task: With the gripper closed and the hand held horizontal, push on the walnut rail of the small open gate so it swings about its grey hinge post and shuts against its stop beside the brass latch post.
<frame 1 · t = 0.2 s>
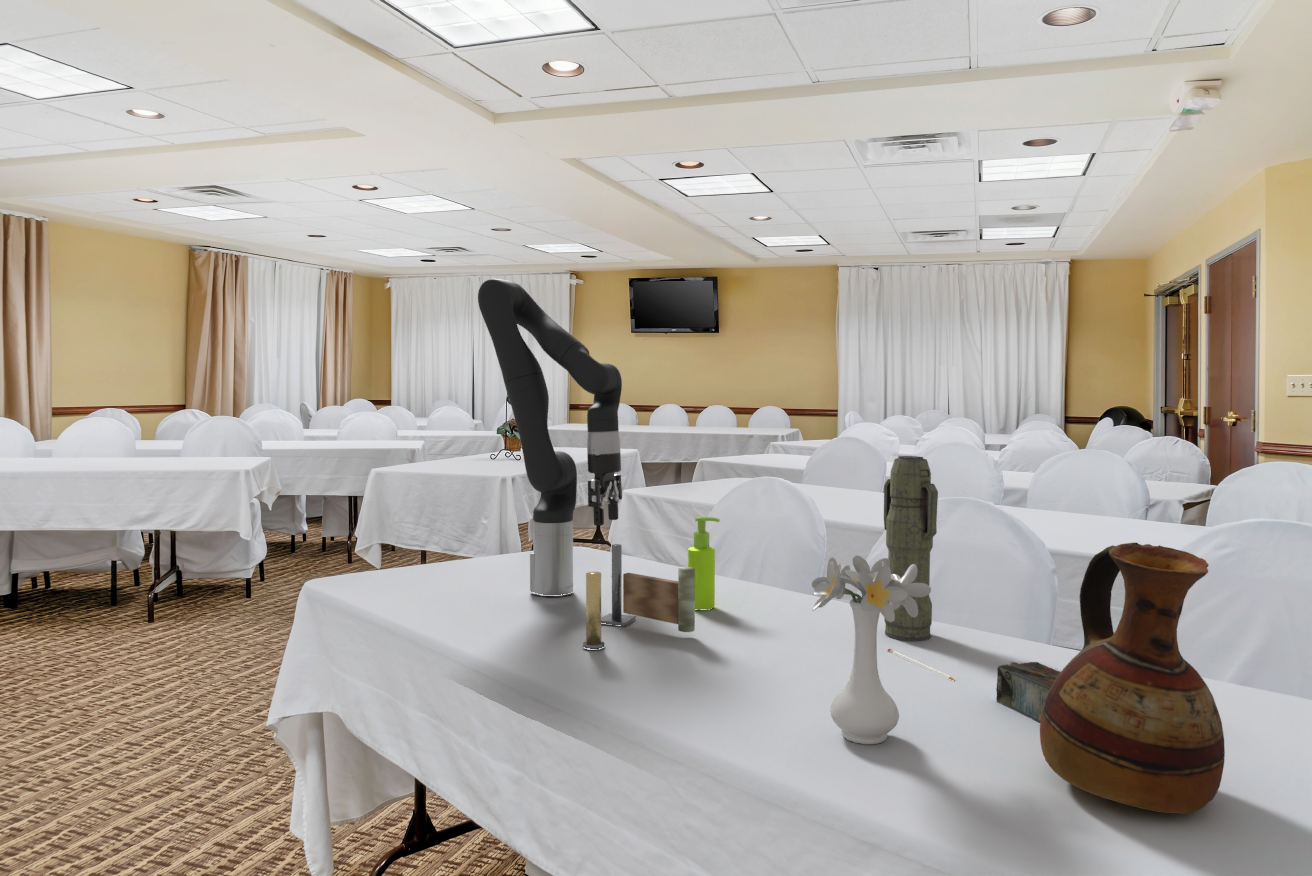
hand: (606, 522, 203), 18 cm above the table, tool pointing down, fingers open, 8 cm apart
flower vase: (864, 735, 125), on the table
thermos: (907, 635, 175), on the table
hinge post: (616, 621, 184), on the table
ceramic pitcher: (1126, 791, 108), on the table
soap dispenser: (703, 608, 196), on the table
gate: (658, 593, 177), point 7 cm above the table, hinge at 50.0°
pencil: (921, 668, 156), on the table
latch post: (593, 647, 166), on the table
beverage carton: (1059, 722, 131), on the table
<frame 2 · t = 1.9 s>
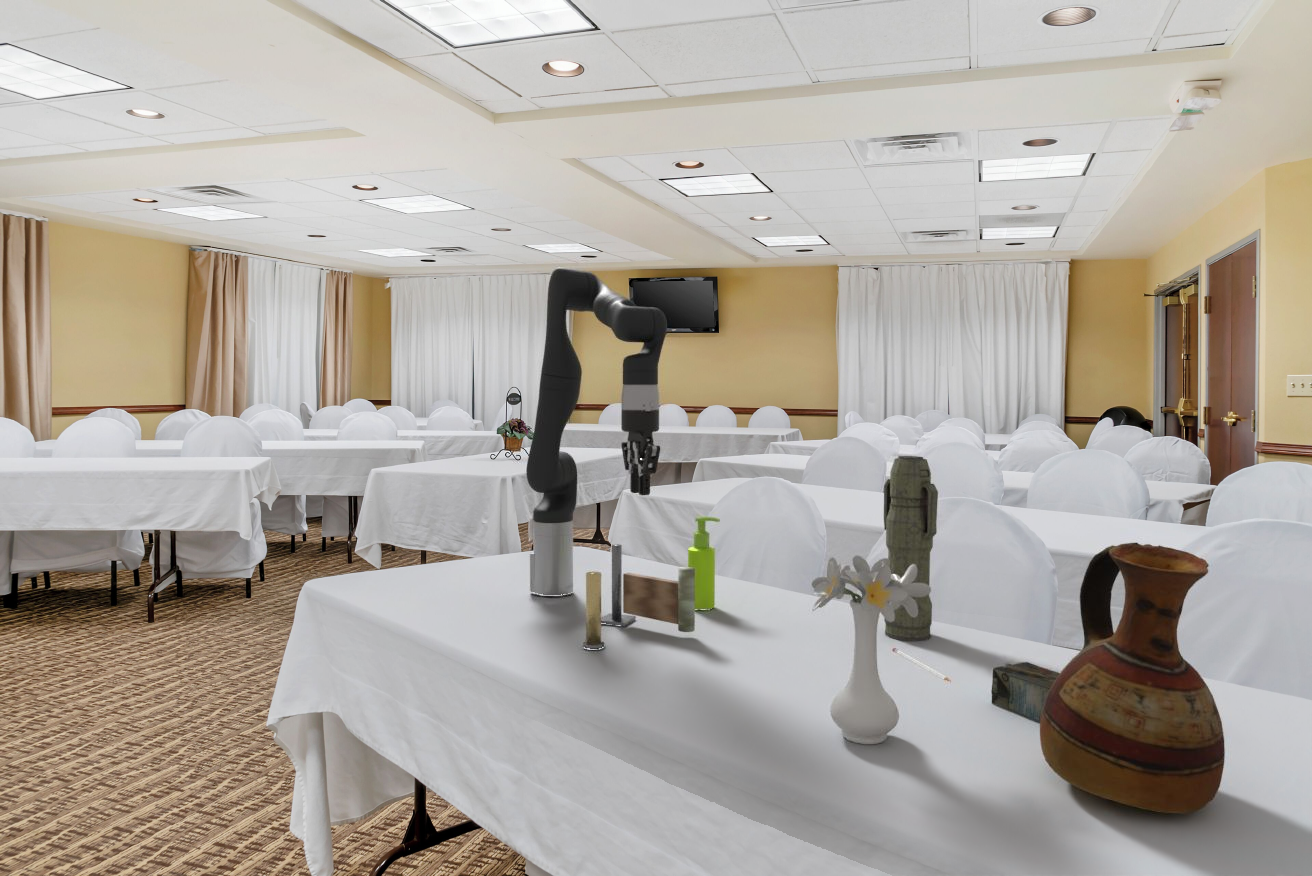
hand: (640, 493, 179), 27 cm above the table, tool pointing down, fingers open, 3 cm apart
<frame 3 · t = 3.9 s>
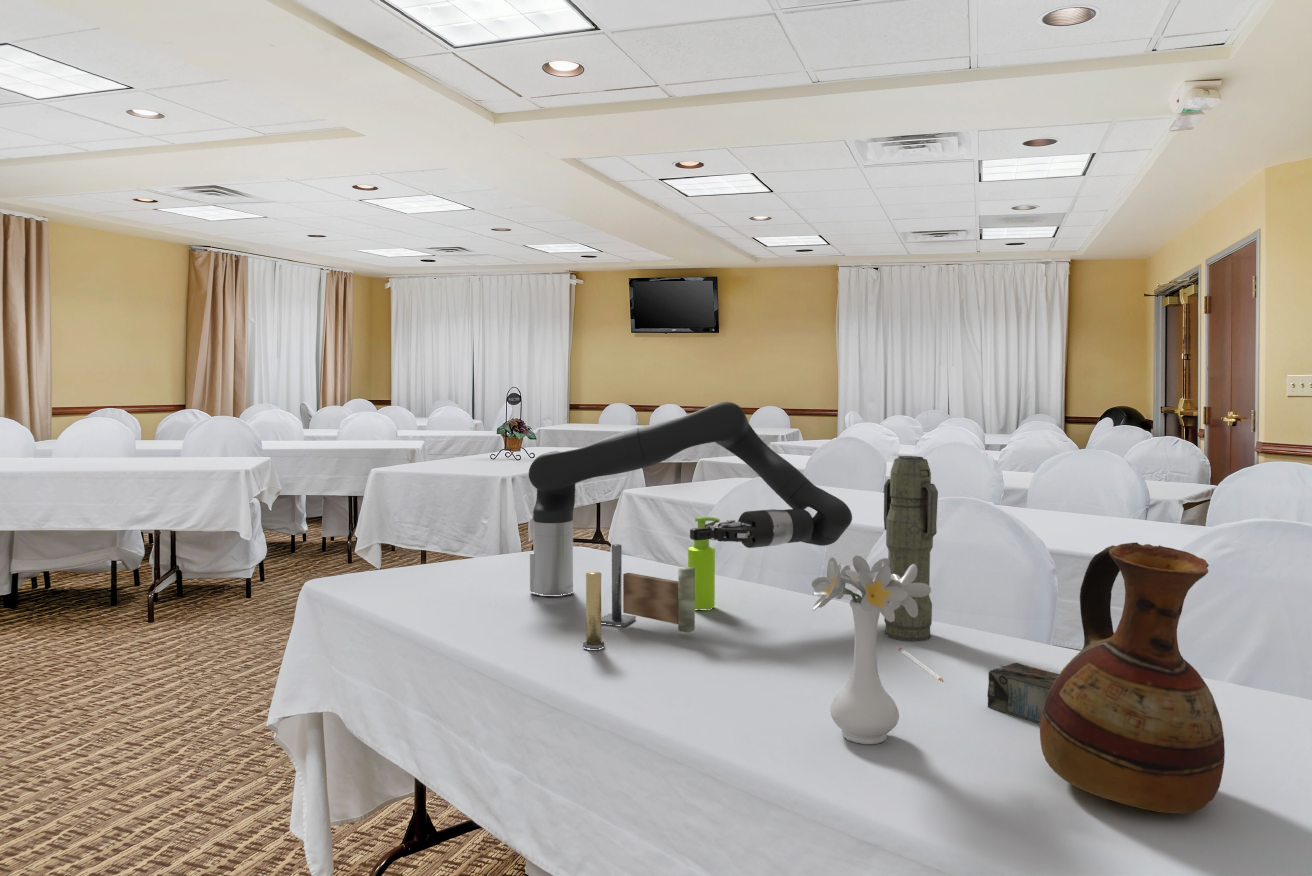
hand: (691, 534, 177), 19 cm above the table, tool horizontal, fingers closed
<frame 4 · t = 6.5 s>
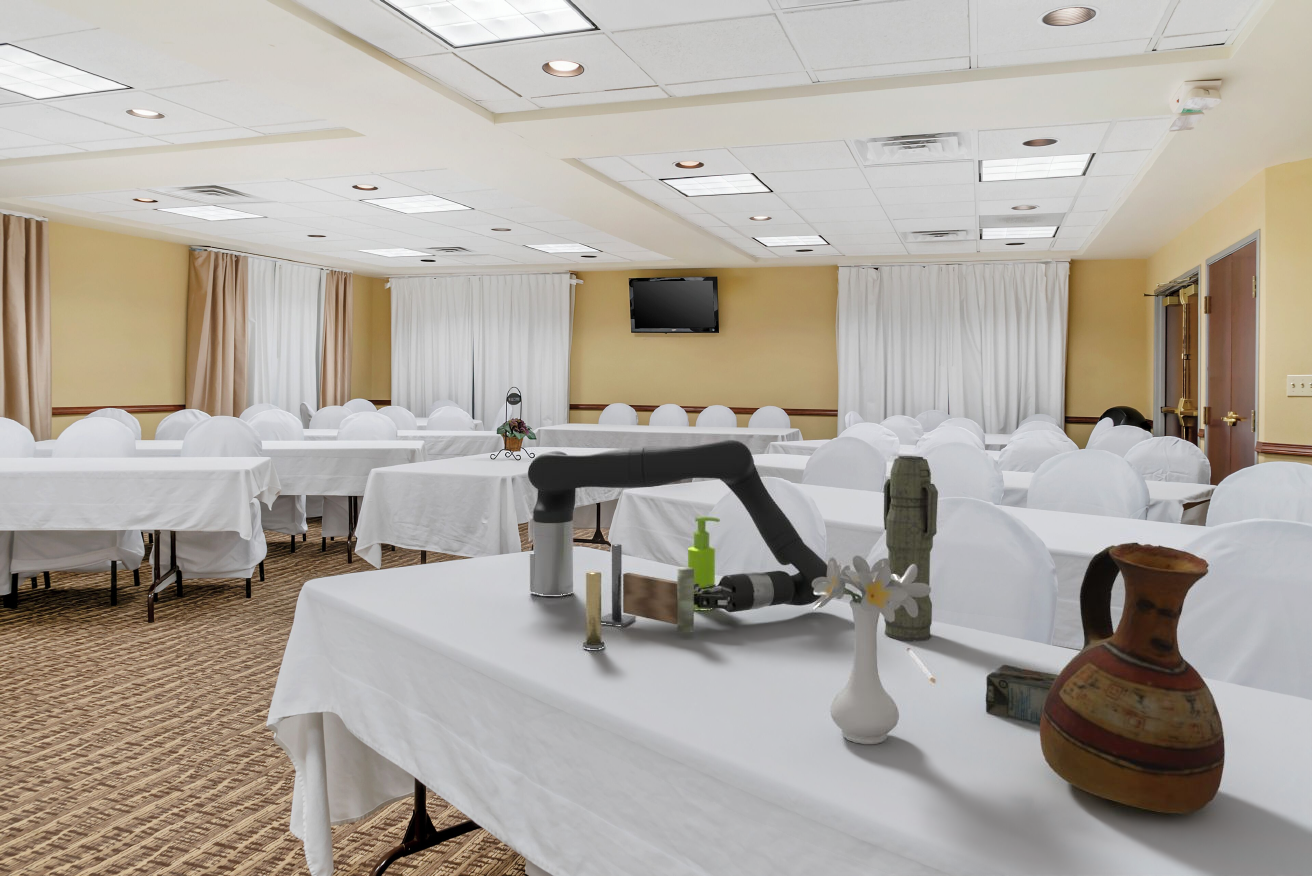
hand: (671, 600, 176), 6 cm above the table, tool horizontal, fingers closed
gate: (657, 594, 177), point 8 cm above the table, hinge at 49.0°, touching gripper
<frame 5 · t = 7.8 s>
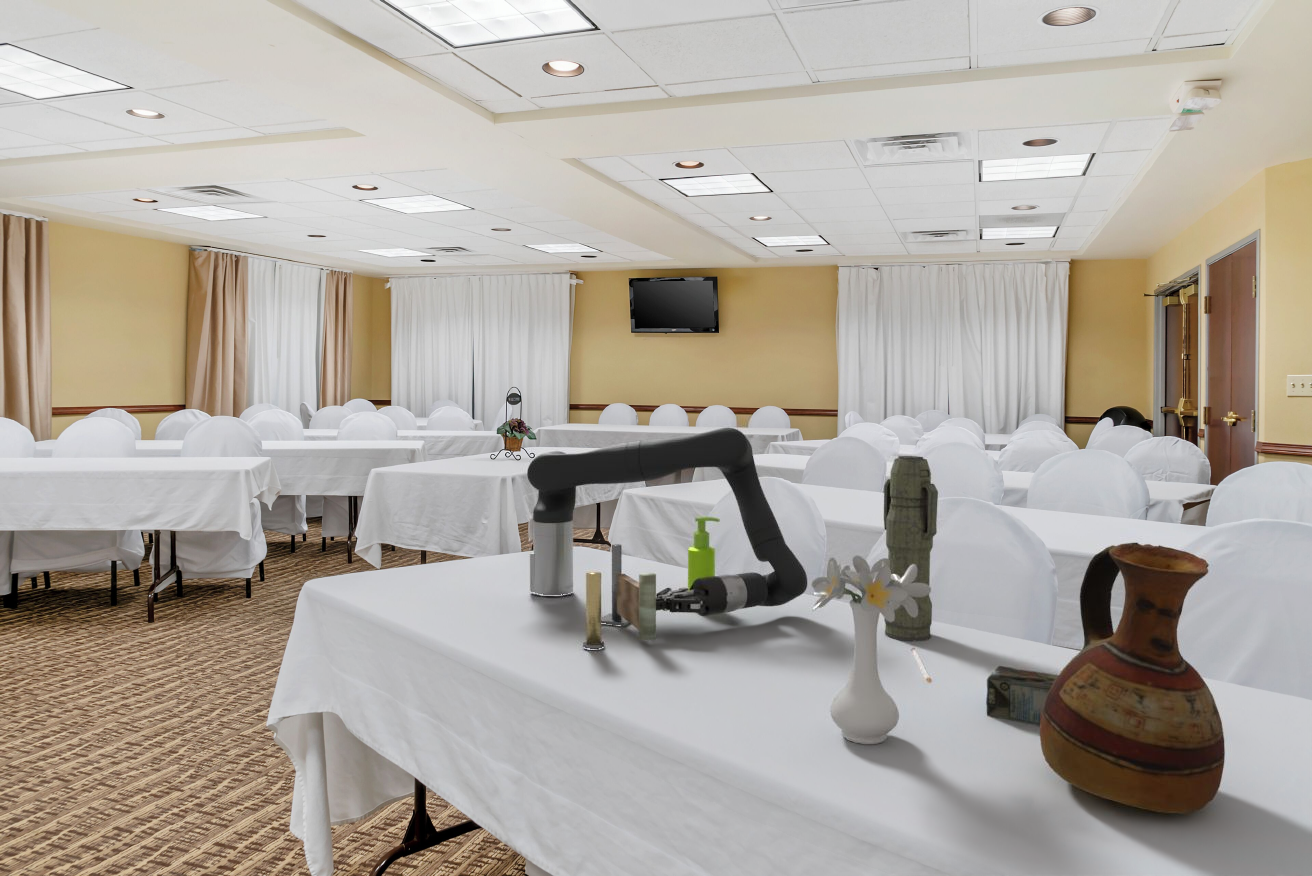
hand: (643, 605, 172), 6 cm above the table, tool horizontal, fingers closed
gate: (634, 597, 173), point 8 cm above the table, hinge at 20.0°, touching gripper
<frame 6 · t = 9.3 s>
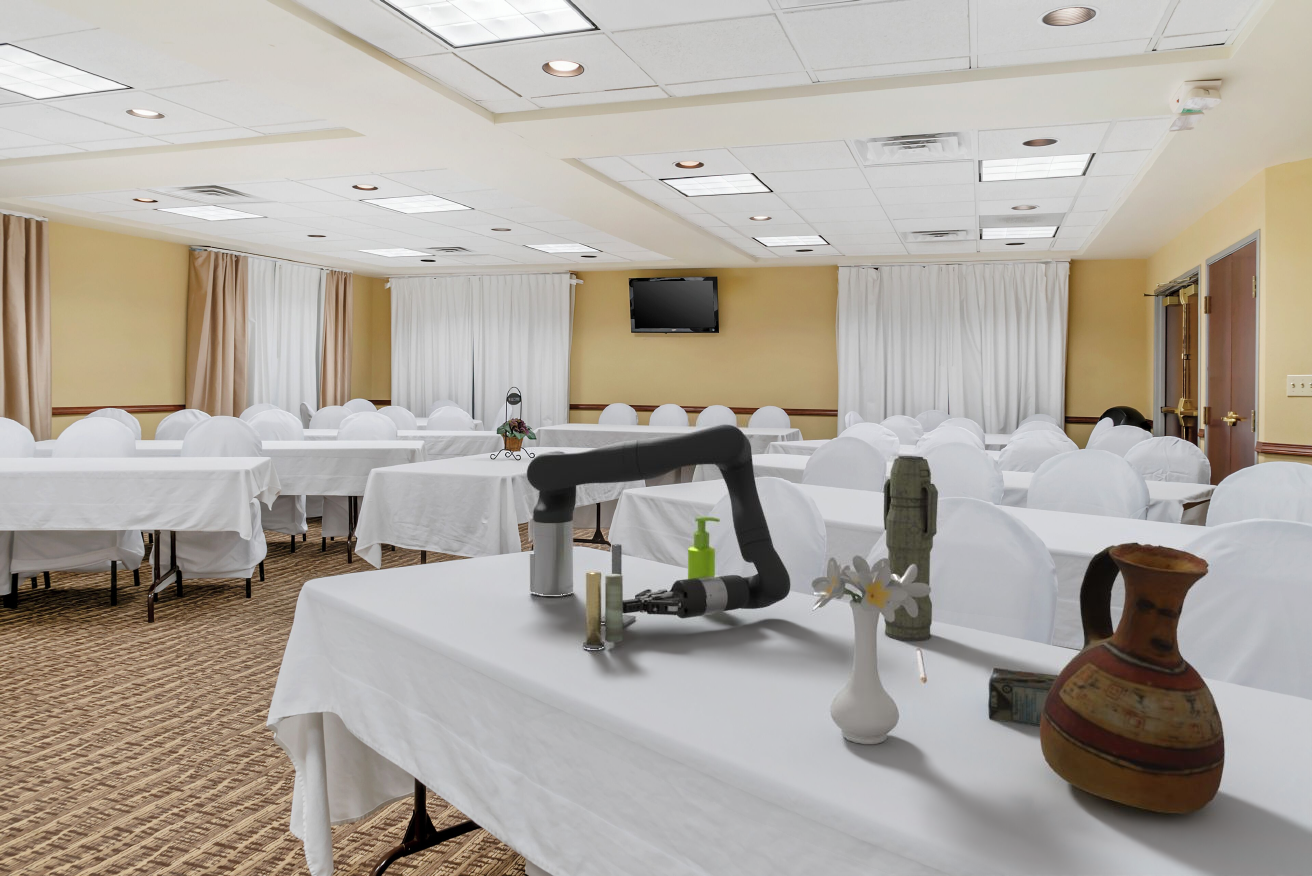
hand: (620, 607, 171), 6 cm above the table, tool horizontal, fingers closed
gate: (615, 598, 173), point 8 cm above the table, hinge at -0.1°, touching gripper
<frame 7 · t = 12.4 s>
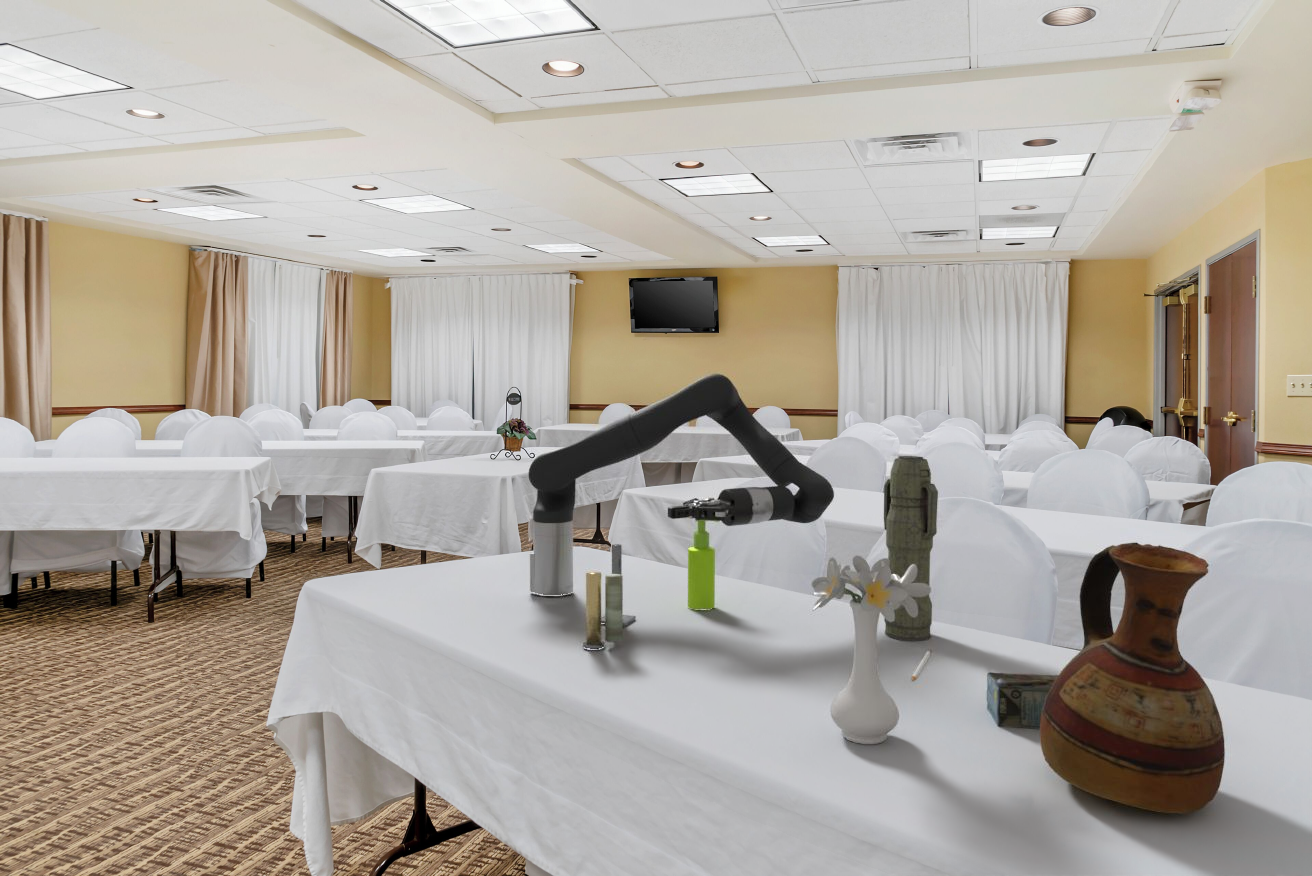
hand: (669, 512, 175), 24 cm above the table, tool horizontal, fingers closed
gate: (615, 598, 173), point 8 cm above the table, hinge at -0.1°
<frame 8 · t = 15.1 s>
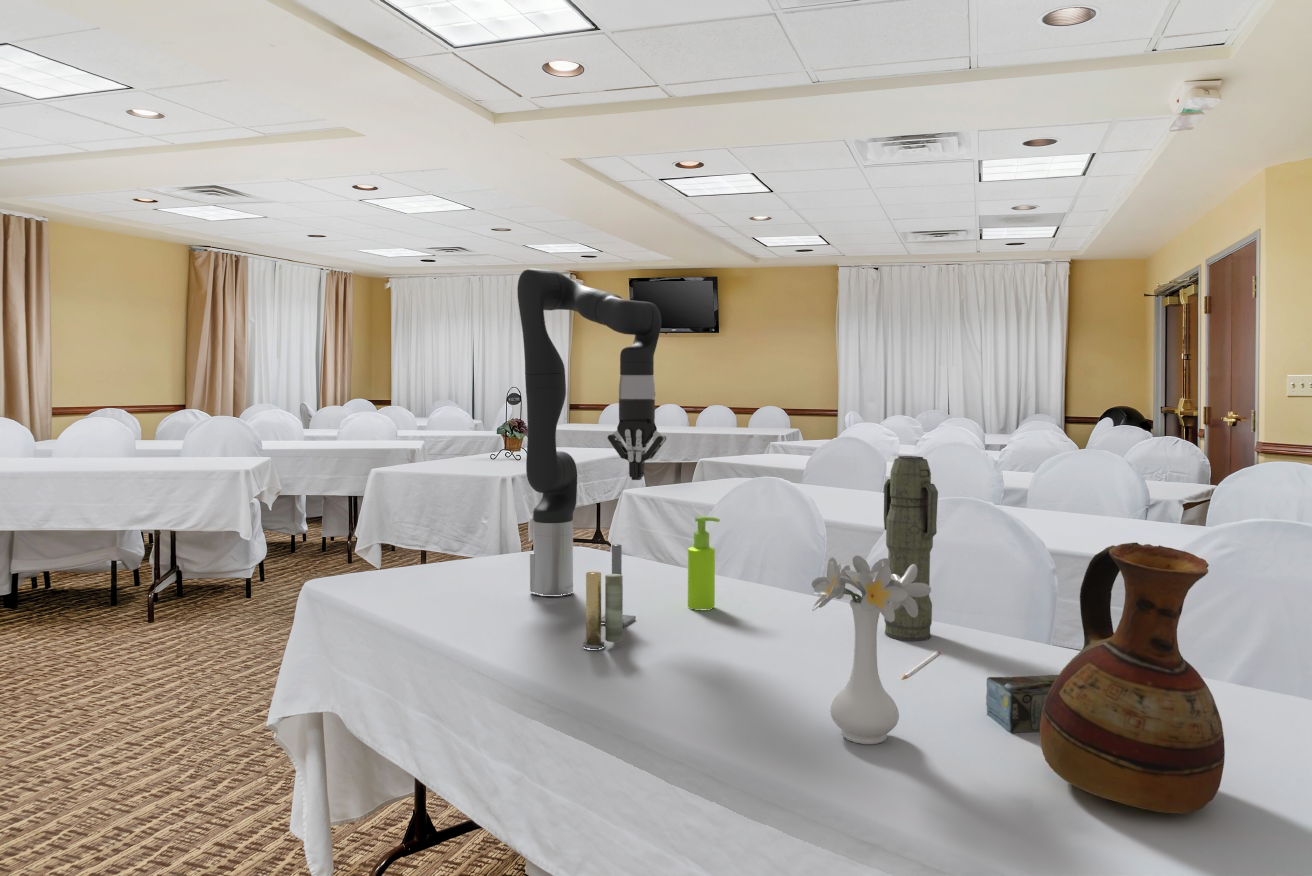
hand: (636, 479, 187), 29 cm above the table, tool pointing down, fingers closed
at the end: gate at +0° (first picture: +50°); gate touching nothing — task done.
